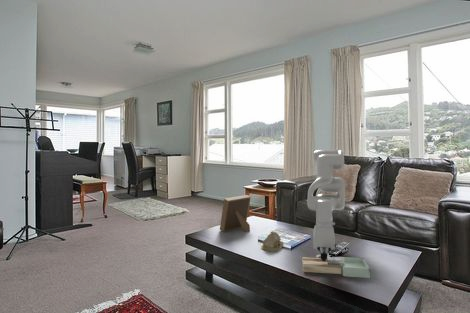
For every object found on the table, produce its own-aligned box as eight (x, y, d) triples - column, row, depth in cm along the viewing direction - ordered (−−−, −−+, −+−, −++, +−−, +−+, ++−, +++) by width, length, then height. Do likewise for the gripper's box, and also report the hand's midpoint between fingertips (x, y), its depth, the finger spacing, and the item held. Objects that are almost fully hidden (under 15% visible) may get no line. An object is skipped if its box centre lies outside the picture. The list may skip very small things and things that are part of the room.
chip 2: (334, 262, 141) (334, 256, 141) (342, 263, 140) (343, 257, 140) (336, 266, 137) (336, 260, 137) (344, 266, 136) (344, 260, 136)
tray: (338, 265, 145) (338, 256, 144) (362, 266, 143) (363, 258, 142) (343, 276, 133) (343, 266, 133) (370, 278, 131) (370, 268, 131)
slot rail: (302, 264, 146) (302, 257, 146) (338, 266, 143) (338, 259, 143) (303, 271, 138) (303, 263, 138) (341, 274, 135) (341, 266, 135)
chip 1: (326, 262, 141) (326, 256, 141) (334, 262, 141) (334, 257, 140) (327, 265, 137) (327, 259, 137) (336, 266, 137) (336, 260, 137)
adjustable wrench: (344, 250, 167) (344, 247, 167) (353, 253, 161) (354, 250, 161) (314, 258, 154) (314, 255, 154) (322, 262, 149) (323, 259, 149)
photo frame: (219, 230, 204) (219, 197, 202) (241, 225, 218) (242, 193, 216) (232, 236, 192) (232, 200, 191) (255, 229, 206) (255, 196, 205)
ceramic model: (272, 253, 162) (272, 236, 161) (257, 248, 169) (257, 232, 169) (286, 247, 171) (286, 231, 171) (272, 242, 179) (271, 227, 179)
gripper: (338, 222, 141) (338, 258, 142) (308, 221, 144) (307, 256, 145) (341, 227, 134) (340, 264, 135) (309, 225, 137) (309, 262, 137)
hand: (323, 260), depth 140 cm, fingers closed
